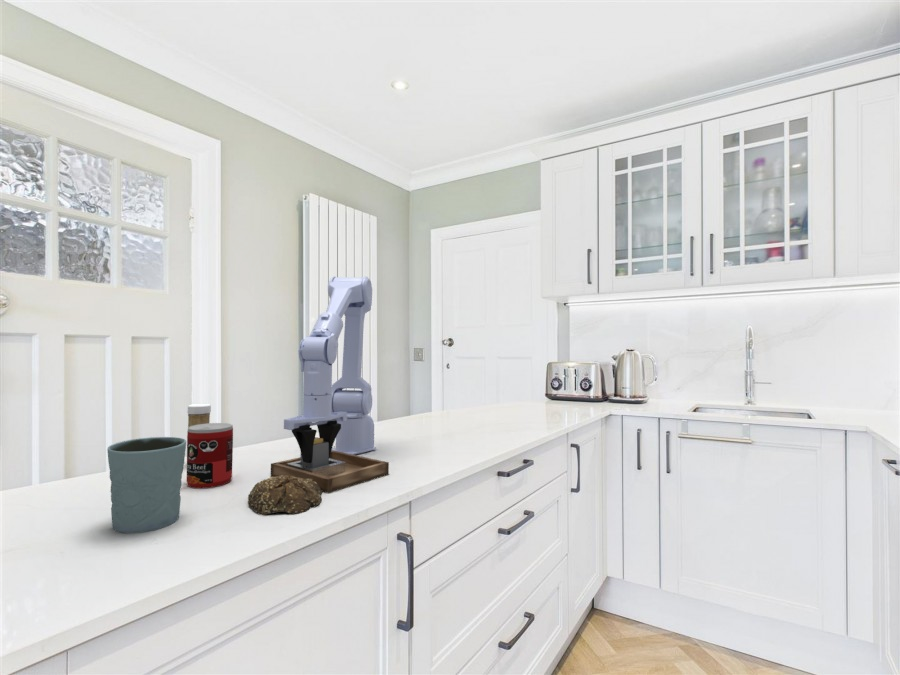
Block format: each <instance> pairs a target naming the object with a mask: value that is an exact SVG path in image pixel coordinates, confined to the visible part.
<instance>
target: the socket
mask: <svg viewBox="0 0 900 675" xmlns="http://www.w3.org/2000/svg"><path fill="white" fill-rule="evenodd" d="M287 466H289V467H293V468H296V469H300V470H304V471H308V472H311V473H315V474H319V475H322V476H326V477H328V476H332V475H336V474H339V473H343V472H346V462H343V461H339V460H334V459H330V458H329V465H325V466H321V467H317V468H311V467H307V466H303V465H301V460H300V461H296V462H292V463H287Z"/></svg>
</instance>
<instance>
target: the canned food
mask: <svg viewBox="0 0 900 675" xmlns="http://www.w3.org/2000/svg"><path fill="white" fill-rule="evenodd" d="M186 437H187V438H186V439H187V440H186V483H187V486H188V487H190V488H193V489H209V488H215V487H221V486H223V485H227V484H228V483H229V482H231V480H232V477H233V458H234V457H233V452H234V451H233V450H234V448H233V446H234V427H233V424H231V423H227V422H211V423H208V424H199V425H194V426H190V427H188V426H187V436H186Z"/></svg>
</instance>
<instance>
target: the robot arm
mask: <svg viewBox="0 0 900 675" xmlns="http://www.w3.org/2000/svg"><path fill="white" fill-rule="evenodd" d="M327 293H328V296H329V302H328V305H327V308H326V310H325V312H323V313H320V314H319V315H318V318H317V319H316V322H315V323H314V325H313V328H312V329H311V331H310V334H309V336H306V337H304V338H303V339H301V341H300V343H299V346H298V351H297V352H298V359H299V361H300V370H301V372H302V374H303V379H302V381H303V382H302V383H303V384H302V388H303V389H302V392H303V393H302V394H303V395H302V414H301V415H298V416H293V417H290V418H284V419H283V430H288V431H291V433H292V434H293V436H294V437H295V440H296V442H297V444H298V448H299V451H300V456H301V455H302V459H303V462H306V463H311V462H312V457H313V444H314V439H315V437H316V435H317V432H318V436H319V437H318V438H323V441H326V442H329V458H330V454H331V450H334V451H339V452H343V453H348V454H353V455H359V454H363V453H367V452H371V451H375V450H377V447H375V422H374V420H373V417H372V416H370V415H369V414H370V413H371V412H372V406H373V395H372V387H371V386H372V385H370V383H369V382H368V381H366V380H365V379H364V378H363V377H362V367H363V366H362V363H363V347H364V346H363V344H364V328H365V327H364V326H365V325H364V324H365V316H366V314H367V313H368V312H370V311H371V310H372V306H373V287H372V281H371V279H370V278H369V277H368V276H362V277H361V276H358V277H357V276H354V277H353V276H351V277H350V276H348V277H347V276H346V277H343V276H342V277H341V276H340V277H339V276H338V277H337V276H332V277H331V278H330V279H329V281H328V285H327ZM343 316H344V318H345V319H344V322H343V319H342V318H343ZM343 328H344V331H343V332H344V334H343V350H342V365H341V366H342V367H341V368H342V369H341V377H340V378H339V379H338V380H336V381H335V382H334V383H332V382H333V364H334V363H335V362H336V359H337V357H338V356H337V355H338V347H339V343H338V340H339V338H340V335H341V332H342V330H343ZM346 389H347V390H346ZM352 389H353V390H352ZM354 389H355V390H354ZM356 389H360V390H356ZM313 426H316V427H317V429H312V427H313ZM334 444H335V448H333V445H334Z"/></svg>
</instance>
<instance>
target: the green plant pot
mask: <svg viewBox="0 0 900 675" xmlns="http://www.w3.org/2000/svg"><path fill="white" fill-rule="evenodd" d="M186 450H187V440H186V439H185V438H181V437H176V436H175V437H173V436H153V437H152V436H151V437H142V438H141V437H140V438H133V439H127V440H122V441H119V442H116V443H113V444H111V445H109V446H108V447H107V450H106V451H107V460H108V461H107V462H108V467H109V479H110V491H109V492H110V501H111V508H110V510H111V511H110V512H111V514H110V515H111V527H112V529H113V531H115V532H118V533H121V534H137V533H147V532H151V531H155V530H159V529H162V528H163V529H164V528H166V527H167V526H168V527H169V526H170V525H172V524H174V523H176V522H178V520H179V517H180V512H181V508H180V507H181V499H182V498H181V489H182V488H181V487H182V485H183V484H182V477H183V473H184V472H183V471H184V466H185V459H186V458H185V456H186Z"/></svg>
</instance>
